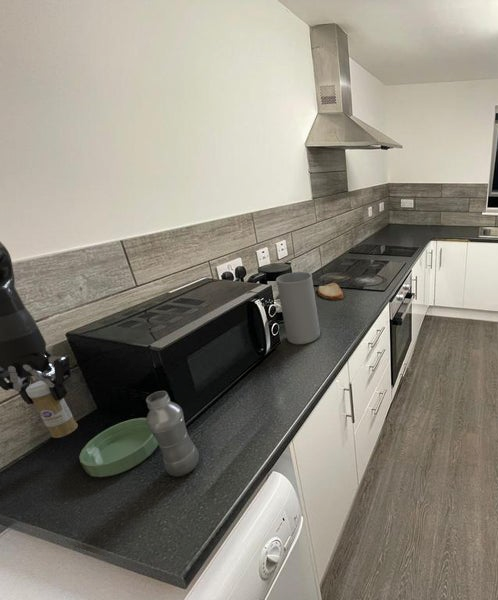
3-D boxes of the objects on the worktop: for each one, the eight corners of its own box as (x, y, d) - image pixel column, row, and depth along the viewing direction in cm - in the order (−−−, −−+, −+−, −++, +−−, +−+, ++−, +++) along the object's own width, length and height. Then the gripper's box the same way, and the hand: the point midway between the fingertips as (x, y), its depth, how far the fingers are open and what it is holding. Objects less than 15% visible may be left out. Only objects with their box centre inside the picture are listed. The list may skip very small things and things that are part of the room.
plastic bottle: (170, 486, 68) (137, 413, 60) (166, 466, 73) (135, 395, 65) (204, 469, 72) (177, 397, 64) (198, 450, 77) (173, 382, 69)
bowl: (70, 484, 69) (62, 471, 68) (111, 435, 82) (105, 423, 81) (143, 471, 72) (137, 458, 70) (172, 425, 85) (167, 413, 83)
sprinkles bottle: (49, 441, 72) (20, 393, 67) (55, 428, 76) (29, 382, 71) (76, 433, 75) (50, 386, 69) (81, 421, 78) (57, 375, 73)
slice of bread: (341, 300, 160) (340, 293, 159) (308, 298, 164) (307, 291, 163) (354, 288, 176) (353, 281, 175) (324, 286, 180) (323, 280, 179)
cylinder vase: (290, 348, 119) (278, 285, 110) (285, 334, 130) (274, 275, 120) (323, 340, 124) (314, 279, 114) (316, 327, 135) (308, 270, 125)
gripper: (65, 320, 70) (95, 385, 76) (-14, 327, 67) (24, 393, 74) (36, 337, 63) (72, 406, 69) (-53, 345, 60) (-7, 416, 67)
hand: (47, 399), depth 72 cm, fingers closed on sprinkles bottle, 4 cm apart
